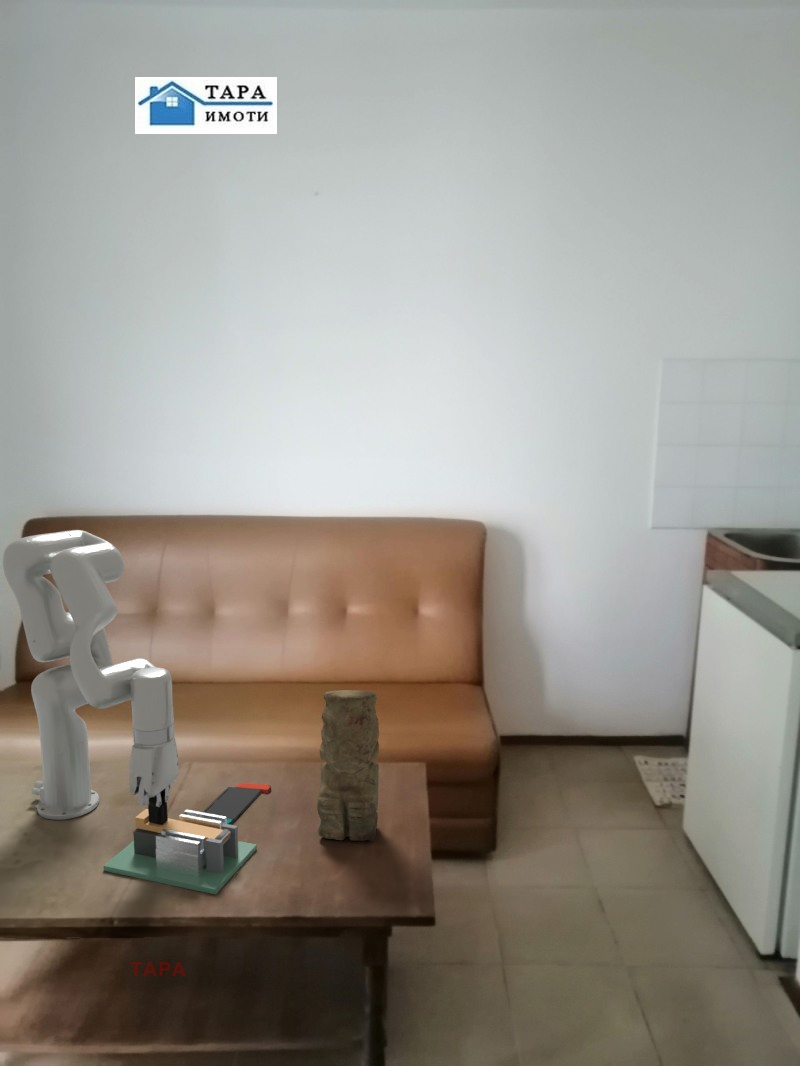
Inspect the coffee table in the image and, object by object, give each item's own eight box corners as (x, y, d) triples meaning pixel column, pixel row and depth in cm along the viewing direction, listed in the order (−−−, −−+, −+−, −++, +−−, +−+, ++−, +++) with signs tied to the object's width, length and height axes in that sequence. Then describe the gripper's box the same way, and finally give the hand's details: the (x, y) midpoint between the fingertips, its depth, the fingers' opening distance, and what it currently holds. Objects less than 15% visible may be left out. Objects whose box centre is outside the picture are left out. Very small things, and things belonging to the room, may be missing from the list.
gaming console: (192, 827, 178) (235, 831, 176) (192, 822, 178) (235, 826, 175) (233, 785, 197) (273, 789, 194) (233, 781, 196) (273, 784, 194)
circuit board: (103, 870, 161) (101, 835, 160) (152, 829, 176) (151, 796, 175) (215, 894, 154) (214, 858, 152) (256, 849, 168) (255, 815, 167)
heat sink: (156, 868, 160) (155, 836, 159) (188, 838, 170) (187, 809, 169) (198, 876, 157) (197, 844, 156) (228, 846, 167) (227, 816, 166)
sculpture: (315, 844, 170) (313, 702, 165) (321, 821, 179) (319, 686, 174) (376, 845, 170) (376, 704, 165) (379, 822, 179) (379, 687, 174)
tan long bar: (230, 838, 162) (230, 826, 162) (221, 848, 159) (221, 835, 159) (146, 820, 168) (145, 808, 168) (135, 829, 165) (135, 817, 164)
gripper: (159, 716, 170) (163, 801, 173) (112, 745, 156) (118, 838, 159) (192, 720, 167) (196, 807, 171) (147, 751, 153) (152, 844, 157)
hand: (158, 821), depth 165 cm, fingers closed
